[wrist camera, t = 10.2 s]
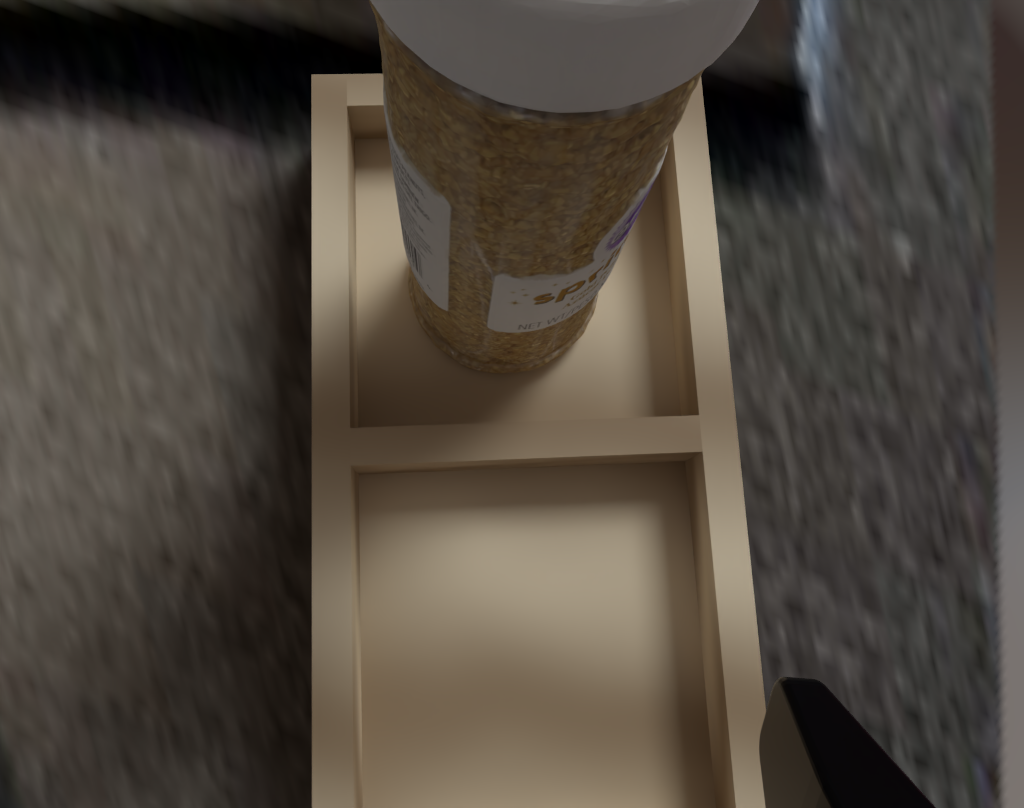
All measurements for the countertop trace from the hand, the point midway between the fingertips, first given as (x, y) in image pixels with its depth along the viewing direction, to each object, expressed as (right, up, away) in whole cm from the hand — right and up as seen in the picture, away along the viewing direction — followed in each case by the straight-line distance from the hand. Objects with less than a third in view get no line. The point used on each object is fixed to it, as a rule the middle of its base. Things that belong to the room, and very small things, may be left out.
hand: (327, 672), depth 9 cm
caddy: (+2, +1, +12) cm, 13 cm away
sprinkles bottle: (+2, +6, +12) cm, 13 cm away
